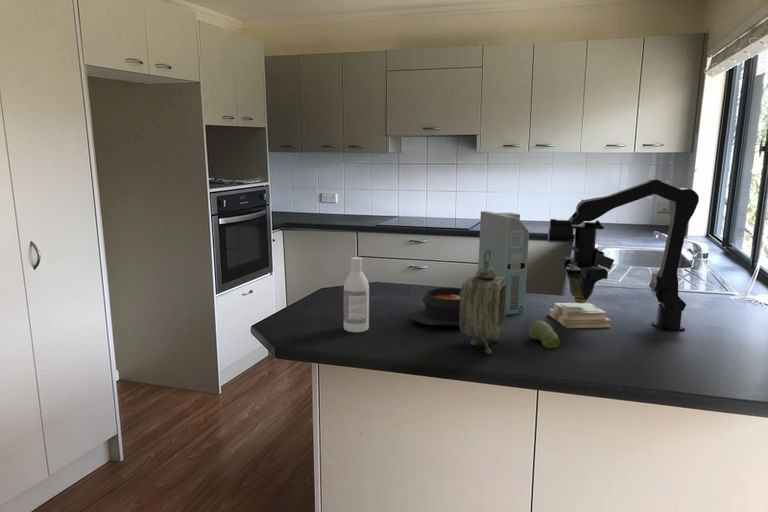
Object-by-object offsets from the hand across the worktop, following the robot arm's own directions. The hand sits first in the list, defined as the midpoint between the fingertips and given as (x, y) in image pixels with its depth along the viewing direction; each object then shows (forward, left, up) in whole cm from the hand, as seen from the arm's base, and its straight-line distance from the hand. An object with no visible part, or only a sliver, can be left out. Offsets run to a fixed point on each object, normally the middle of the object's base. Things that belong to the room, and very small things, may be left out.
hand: (580, 296), depth 167 cm
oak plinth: (0, 0, -7) cm, 7 cm away
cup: (0, 0, -2) cm, 2 cm away
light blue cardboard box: (+16, +19, -8) cm, 26 cm away
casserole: (+2, +38, -8) cm, 39 cm away
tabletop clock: (-20, +35, -8) cm, 41 cm away
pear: (-18, +18, -8) cm, 27 cm away
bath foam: (-4, +66, -8) cm, 67 cm away
